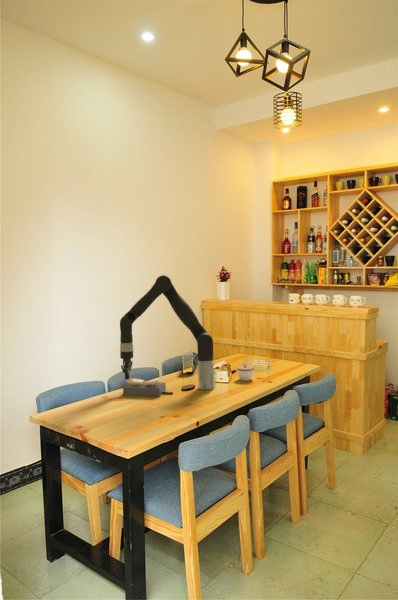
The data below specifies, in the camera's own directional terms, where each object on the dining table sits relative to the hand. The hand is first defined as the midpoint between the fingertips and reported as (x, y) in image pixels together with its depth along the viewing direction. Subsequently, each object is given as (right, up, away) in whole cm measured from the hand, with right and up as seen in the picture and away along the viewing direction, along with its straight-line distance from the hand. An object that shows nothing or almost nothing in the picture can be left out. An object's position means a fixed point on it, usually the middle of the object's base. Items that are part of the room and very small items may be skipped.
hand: (127, 379), depth 266 cm
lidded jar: (+72, -4, +22) cm, 75 cm away
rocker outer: (+5, -2, -1) cm, 5 cm away
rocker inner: (+16, -2, -3) cm, 16 cm away
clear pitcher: (+37, -3, +53) cm, 65 cm away
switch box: (+14, -8, -2) cm, 16 cm away
